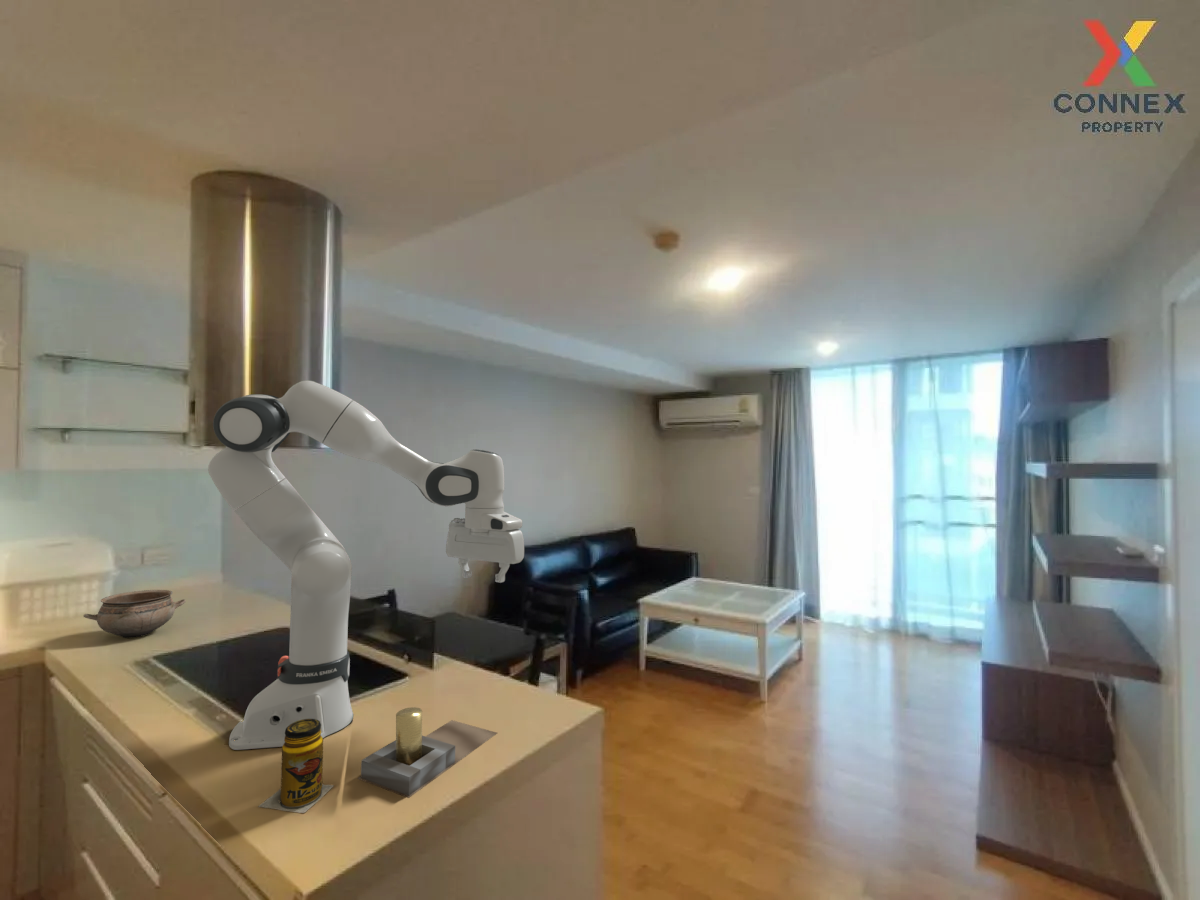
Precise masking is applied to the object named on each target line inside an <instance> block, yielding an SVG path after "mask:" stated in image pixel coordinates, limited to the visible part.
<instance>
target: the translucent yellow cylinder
mask: <svg viewBox="0 0 1200 900" xmlns="http://www.w3.org/2000/svg"><path fill="white" fill-rule="evenodd" d="M422 736H423V710H422V709H421V708H420V707H417V706H414V707H413V706H412V707H406V708H401V710H398V712H397V713H396V714H395V740H396V761H397V762H400V763H403V764H406V765H409V766H410V765H411V764H413V763H414V762H416V761H417V760H419V759H420V758H422Z"/></svg>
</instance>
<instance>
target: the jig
mask: <svg viewBox="0 0 1200 900" xmlns="http://www.w3.org/2000/svg"><path fill="white" fill-rule="evenodd" d="M497 734H498V732H495V731H492V730H489V729H485V728H482V727H478V726H474V725H470V724H467V723H465V722H460V721H457V720H453V719H451V720H450V721H448V722H446V723H444V724H443V725H442V726H439V727H438V728H436V729H435V730H433V731H431V732H430V733H428V734H427V735H422V758H420V759H419V760H417V761H416V762H414V763H413V764H411V765H410V766H409V765H406V764H403V763H400V762H397V761H396V739H395V740H394V741H392V742H390V743H388V744H386V745H384V746H383V747H381V748H379V749H378V750H376V751H374V752H373V753H371V754H369V755H368V756H366V757H365V758H363V759H361V760H360V761H361V762H360V764H361V765H360V776H359V777H358V778H356V779H358V780H360V781H363V782H366V783H369V784H370V785H372V786H376V787H379V788H382V789H385V791H386V790H387V791H389V792H392V793H395V794H397V795H400V796H403V797H405V798H407V799H410V798H412V797H413V796H414V795H415V794H416V793H418V792H420V791H421V790H422V789H423V788H425V787H426V786H427V785H429V784H430V783H432V782H433V781H434V780H436V779H437V778H438V777H440V776H441V775H443V774H444V773H445V772H447V771H448V770H449V769H451V768H452V767H453V766H455V765H456V764H458V763H459V762H461V761H462V760H463V759H464V758H466V757H467V756H468V755H470V754H471V753H473V752H474V751H475V750H477V749H478V748H479V747H481V746H482V745H483V744H486V742H488V741H489V740H491V738H493V737H494V736H496V735H497Z"/></svg>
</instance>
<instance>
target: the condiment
mask: <svg viewBox="0 0 1200 900" xmlns="http://www.w3.org/2000/svg"><path fill="white" fill-rule="evenodd" d="M284 741H285V743H284V745H283V746H281V747H282V748H281V767H280V769H281V770H280V771H281V772H280V773H281V774H280V775H281V777H280V789H278V790H277V791H276V792H274V793H273V794H272V795H271V796H270V797H268V798H267V799H266V800H265V801H263V802H262V803H260V804H259V805H258V806H257V808H264V809H273V810H274V809H275V810H279V811H282V812H283V811H284V812H292V813H298V814H299V813H301V814H304V813H306V812H307V811H308V810H310V809H311V808H312V807H313V806H315V804H316V803H318V802H319V801H320V800H321V799H322V798H323V797H324V796H325V795H326V794H328V792H329V791H330V790H331V789H332V788H334V787H335V785H334V784H324V783H323V774H324V773H323V770H324V767H323V766H324V764H323V762H324V760H323V759H324V754H323V753H324V738H322V736H321V723H320V721H319V720H316V719H303V720H299V721H296V722H294V723H292V724H290V725H289V726H288V727H287V728H286V730H285V739H284Z"/></svg>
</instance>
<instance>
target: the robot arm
mask: <svg viewBox="0 0 1200 900" xmlns="http://www.w3.org/2000/svg"><path fill="white" fill-rule="evenodd" d="M212 427H213V431H214V434H215V437H217V439H218V440H219V442H220V443H221V444H222V445H224V446H225V448H223V449H222V450H219V452H217V453H216V454H215V455H213V457H212V458H211V459H210V461H209V464H208V467H207V470H208V474H209V476H210V478H211V480H212V482H213V483H214V485H215V487H216V489H217V490H218V492H219V493H220V495H221V497H222V498H223V499H224V500H225V502H226V504H228V505H229V506H230V509H232V510H233V511H234V512H235V514H236V515H237V516H238V517H239V518H240V520H241V521H242V522H243V523H244V524H245V525H246V526H247V527H248V529H249V530H250V531H251V532H252V533H253V534H254V535H255V537H256V538H257V539H258V540H259V541H260V542H261V543H262V544H264V546H265V547H267V548H268V549H269V550H270V551H271V552H272V553H273V554H274V555H275V556H276V557H277V558H278V559H279V560H280V561H281V562H282V563H283V564H284V565H285V566H286V567H287V568H288V569H289V571H290V572H291V580H290V581H291V583H290V584H291V585H290V586H291V587H290V621H289V623H290V624H289V646H288V647H289V652H288V653H289V655H283V656H281V657H280V658H279V661H278V662H277V663H278V664H277V670H276V671H277V672H276V673H277V674H276V675H277V678H276V680H275V679H274V681H273V682H271V683H270V684H269V685H267V687H264V688H263V689H262V690H261V691H260V692H259V693H257V694H256V695H255V696H254V697H253V698H252V700H251V701H250V702H249V704H248V706H247V709H246V710H245V714H244V717H243V719H244V721H243V722H241V721H242V720H240V721H239V722H238V723H237V724H236V725H235V726H234V727H233V729H232V731H231V733H230V734H229V738H228V739H229V740H228V745H229V748H230V749H232V750H235V751H240V750H251V749H252V750H253V749H255V750H256V749H266V748H267V749H269V748H278V747H279V748H280V747H282V746H283V745H284V743H285V741H284V739H285V730H286V728H287V727H288V726H289V725H290V724H292V723H294V722H296V721H299V720H303V719H316V720H319V721H320V723H321V736H322V738H323V739H324V738H325V737H328V736H330V735H331V734H334V733H337V732H339V731H341V730H342V729H344V728H346V727H347V726H348V725H350V723H351V722H352V721H353V719H354V715H355V714H354V712H353V711H354V710H353V708H352V705H351V700H350V693H349V683H348V680H349V678H350V667H351V665H350V663H351V662H350V661H351V659H350V652H349V651H348V639H349V638H348V632H349V631H348V630H349V629H348V627H349V611H350V600H351V587H352V573H353V571H352V569H353V565H352V560H351V559H350V556H349V554H348V553H347V551H346V548H345V547H344V546H343V544H342V543H341V542H340V541H339V539H338V538H337V537H336V536H335V534H333V532H332V531H331V530H330V528H328V526H327V525H326V524H325V523H324V522H323V520H322V519H321V518H320V517H319V516H318V515H317V513H315V511H314V510H313V509H312V508H311V507H310V505H309V504H308V503H307V501H306V500H305V499H304V498H303V497H302V495H300V493H299V492H298V491H297V489H296V488H295V487H294V486H293V485H292V484H291V482H290V481H289V480H288V479H287V478H286V476H285V475H284V474H283V473H282V471H280V469H279V467H277V465H276V464H275V462H274V460H273V458H272V453H273V452H275V451H276V450H277V449H278V448H279V447H280V445H281V444H282V443H283V442H285V440H286V439H287V438H288V436H289V435H290V433H300V434H304V435H305V436H308V437H310V438H311V439H313V440H315V441H317V442H319V443H321V444H323V446H326V447H327V448H329V449H331V450H333V451H336V452H338V453H340V454H343V455H345V456H348V457H352V458H355V459H358V460H364V461H367V462H373V463H375V464H379V465H380V466H383V467H385V468H387V469H389V470H391V471H392V472H394V473H396V474H398V475H399V476H401V477H403V478H404V479H406V480H407V481H410V483H412V484H414V485H415V486H416V487H417V488H418V490H419V491H420V493H421V495H422V496H424V498H425V499H426V500H427V501H429V502H430V503H432V504H434V505H438V506H440V507H453V506H456V505H461V504H464V506H465V508H464V510H465V512H464V517H463V518H460V517H455V518H453V519H452V520H450V522H449V524H448V532H447V537H446V545H445V552H446V555H447V557H448V558H455V559H458V564H459V567H460V569H461V571H462V573H461V574H462V578H464V579H470V578H472V576H473V574H472V573H473V569H470V567H469V562H470V560H473V561H474V560H475V561H482V562H491V563H498V567H499V568H500V570H499V571H498V573H495V576H494V582H496V583H504V582H505V581H506V574H507V572H508V570H509V568H510V566H511V565H515V564H519V563H521V562H522V561H523V559H524V557H525V539H524V534H523V532H522V530H520V529H521V528H523V520H522V519H521V518H519V517H516V516H515V515H512V514H510V513H508V512H506V511H505V503H504V500H503V499H504V497H503V495H504V491H505V467H504V461H503V459H502V457H501V455H499V454H498V453H495V452H493V451H489V450H484V449H471V450H470V451H468V452H467V453H465V454H464V455H461V456H460V457H458V458H456V459H453V460H451V461H447V462H445V463H443V462H435V461H433V460H429V459H426V458H425V457H423V456H421V455H420V454H418V453H416V452H415V451H413V450H412V449H410V448H408V447H406V446H405V445H404V444H401V443H400V442H399V441H398V440H397V439H396V438H395V437H394V436H392V435H391V433H390V432H389V431H388V429H387V428H386V426H385V425H384V424H383V422H382V421H381V420H380V419H379V418H378V417H377V416H376V415H375V414H374V413H372V412H371V411H370V410H368V409H367V408H366V407H365V406H363V405H362V404H360V403H358V402H357V401H355V400H354V399H352V398H350V397H348V396H347V395H346V394H343V393H342V392H339V391H338V390H335V389H333V388H331V387H329V386H326V385H324V384H321V383H319V382H316V381H314V380H301V381H298V382H297V383H294V384H293V385H292V386H291V387H290V388H288V390H287V391H286V392H285V393H284V395H282V396H281V397H278V396H275V395H271V394H256V393H255V394H247V395H243V396H239V397H235V398H232V399H230V400H228V401H226V402H225V403H223V404H222V405H221V406H220V407H219V408H218V409H217V411H216V412H215V414H214V417H213V422H212ZM234 740H235V741H234Z"/></svg>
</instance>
